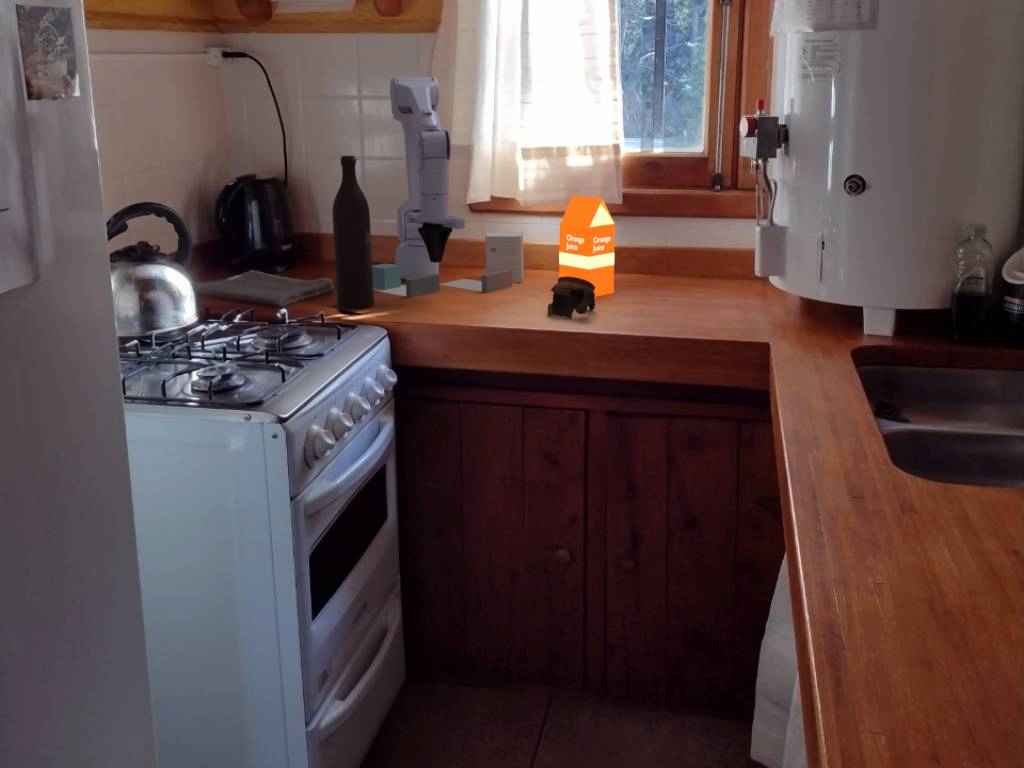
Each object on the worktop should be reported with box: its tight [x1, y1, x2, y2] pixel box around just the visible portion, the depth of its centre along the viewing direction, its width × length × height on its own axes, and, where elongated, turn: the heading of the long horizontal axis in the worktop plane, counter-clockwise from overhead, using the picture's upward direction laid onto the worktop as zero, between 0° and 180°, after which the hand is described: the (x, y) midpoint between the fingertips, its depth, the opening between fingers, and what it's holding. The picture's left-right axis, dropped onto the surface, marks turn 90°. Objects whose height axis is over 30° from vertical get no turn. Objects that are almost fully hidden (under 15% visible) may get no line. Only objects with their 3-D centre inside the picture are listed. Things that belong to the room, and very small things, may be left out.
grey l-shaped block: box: [439, 269, 514, 294], centre depth 225 cm, size 14×8×4 cm, turn 49°
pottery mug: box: [547, 276, 596, 319], centre depth 204 cm, size 12×10×8 cm
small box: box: [485, 231, 525, 284], centre depth 236 cm, size 8×6×10 cm
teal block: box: [372, 263, 402, 290], centre depth 225 cm, size 4×4×4 cm
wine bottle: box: [332, 155, 375, 316], centre depth 204 cm, size 7×7×30 cm
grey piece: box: [373, 273, 440, 298], centre depth 223 cm, size 18×8×4 cm, turn 49°
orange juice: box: [558, 195, 616, 298], centre depth 221 cm, size 8×9×20 cm
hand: (436, 261), depth 213 cm, fingers closed
